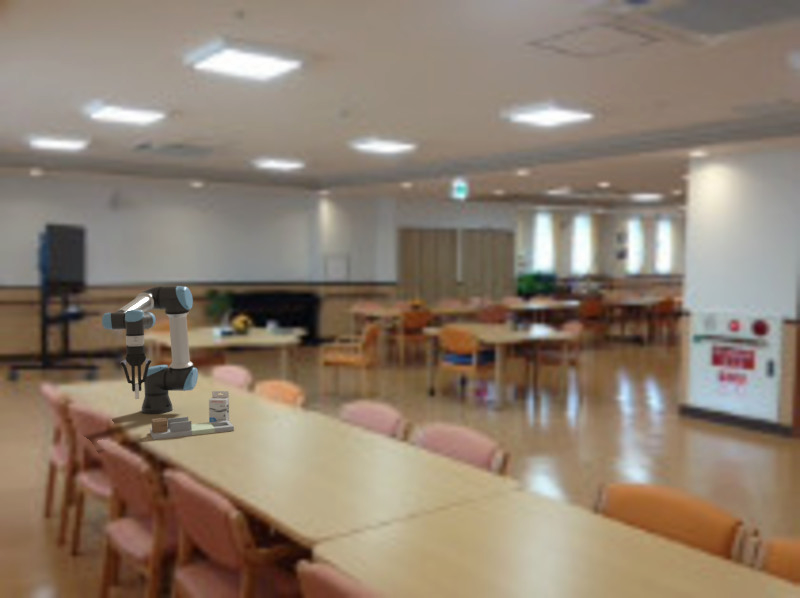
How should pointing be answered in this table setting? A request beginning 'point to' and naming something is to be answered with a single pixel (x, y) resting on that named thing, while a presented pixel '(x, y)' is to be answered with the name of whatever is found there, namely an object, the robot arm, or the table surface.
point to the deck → (191, 428)
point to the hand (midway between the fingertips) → (137, 398)
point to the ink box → (219, 406)
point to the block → (159, 425)
